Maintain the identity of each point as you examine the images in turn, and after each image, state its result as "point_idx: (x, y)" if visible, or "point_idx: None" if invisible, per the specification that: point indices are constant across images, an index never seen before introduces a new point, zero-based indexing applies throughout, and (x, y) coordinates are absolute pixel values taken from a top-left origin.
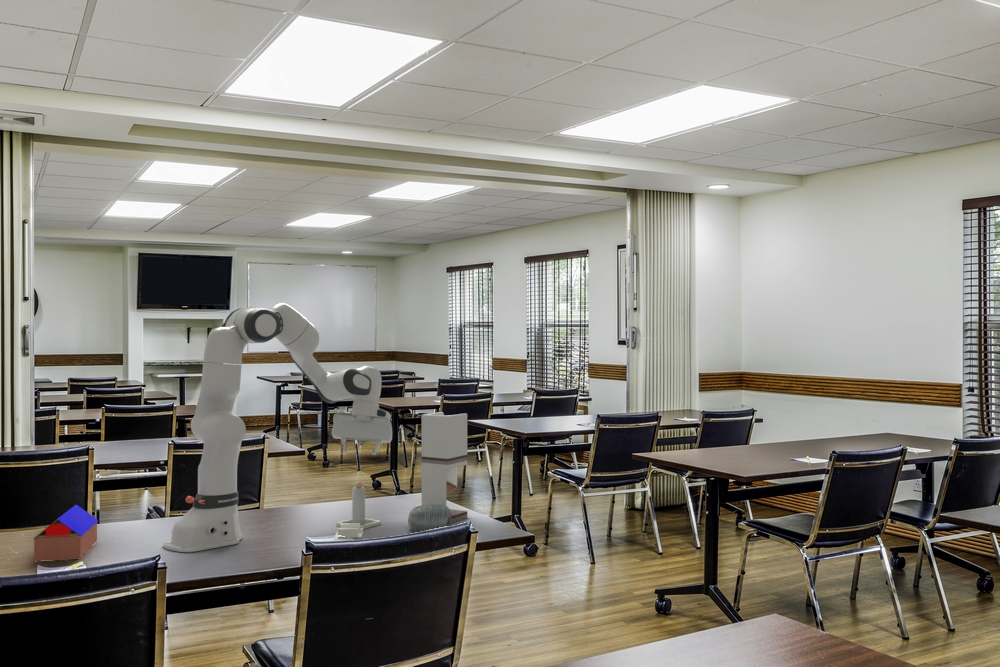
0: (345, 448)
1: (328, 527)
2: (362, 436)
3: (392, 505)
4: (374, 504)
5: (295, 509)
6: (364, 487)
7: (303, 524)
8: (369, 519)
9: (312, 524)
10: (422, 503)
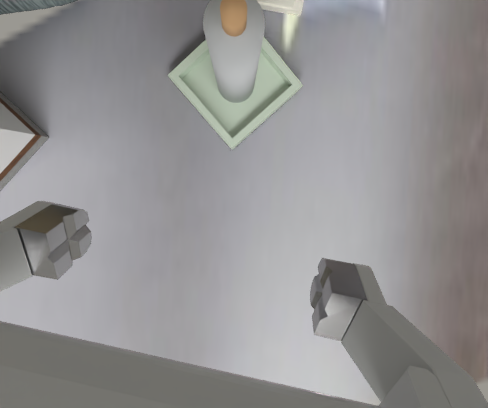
0: (353, 275)
1: (319, 110)
2: (79, 367)
3: None
4: None
5: None
6: (205, 32)
7: (384, 166)
8: (201, 107)
9: (360, 160)
10: (2, 126)
